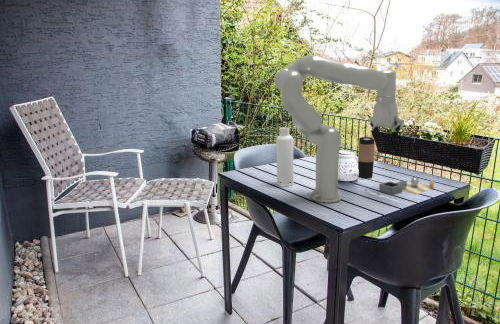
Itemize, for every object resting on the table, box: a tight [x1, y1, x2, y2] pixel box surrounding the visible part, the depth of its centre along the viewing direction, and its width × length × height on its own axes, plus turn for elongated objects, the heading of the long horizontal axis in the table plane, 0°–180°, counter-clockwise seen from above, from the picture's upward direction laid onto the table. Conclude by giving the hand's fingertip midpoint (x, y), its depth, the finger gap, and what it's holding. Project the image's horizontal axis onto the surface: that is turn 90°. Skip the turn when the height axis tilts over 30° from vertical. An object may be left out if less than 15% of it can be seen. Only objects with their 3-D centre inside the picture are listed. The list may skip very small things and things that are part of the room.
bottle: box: [275, 126, 294, 187], centre depth 186 cm, size 8×8×28 cm
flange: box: [378, 180, 408, 196], centre depth 172 cm, size 13×7×4 cm, turn 122°
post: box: [410, 176, 419, 188], centre depth 175 cm, size 3×3×4 cm
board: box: [402, 180, 436, 195], centre depth 175 cm, size 15×13×1 cm
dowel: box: [428, 180, 435, 190], centre depth 172 cm, size 2×2×4 cm
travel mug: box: [357, 136, 376, 179], centre depth 195 cm, size 8×8×20 cm
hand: (385, 139), depth 168 cm, fingers open, 9 cm apart
